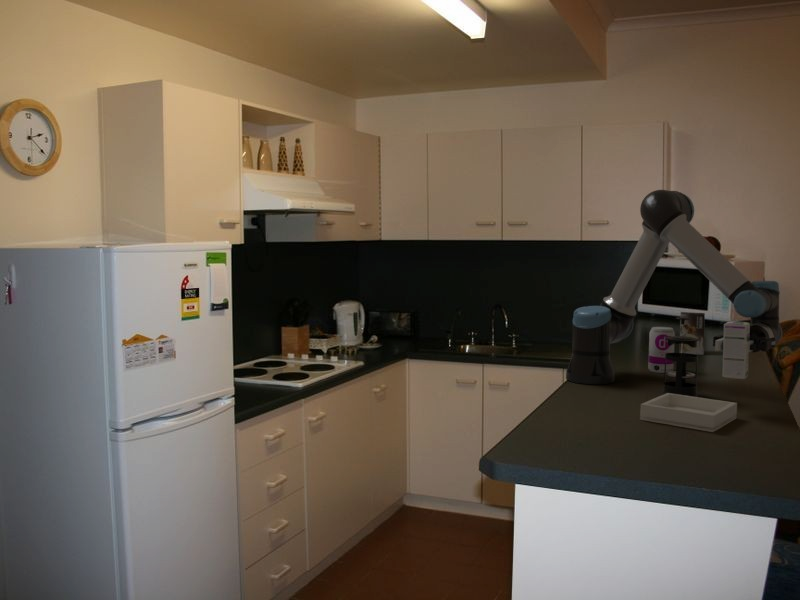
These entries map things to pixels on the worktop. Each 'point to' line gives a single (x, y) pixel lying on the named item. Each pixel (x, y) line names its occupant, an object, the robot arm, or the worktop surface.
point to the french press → (681, 366)
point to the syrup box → (735, 350)
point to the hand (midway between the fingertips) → (730, 347)
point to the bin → (689, 412)
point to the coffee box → (693, 332)
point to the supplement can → (660, 349)
